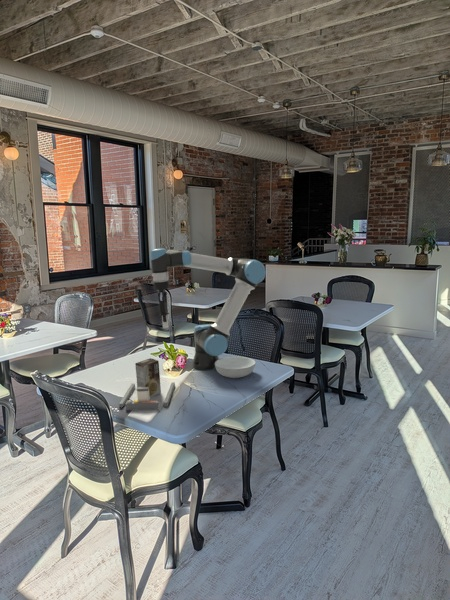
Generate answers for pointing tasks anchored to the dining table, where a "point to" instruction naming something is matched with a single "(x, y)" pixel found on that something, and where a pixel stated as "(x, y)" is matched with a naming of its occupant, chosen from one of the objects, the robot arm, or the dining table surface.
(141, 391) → the switch lever
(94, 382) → the dining table surface
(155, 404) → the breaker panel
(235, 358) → the serving bowl
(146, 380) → the coffee box
